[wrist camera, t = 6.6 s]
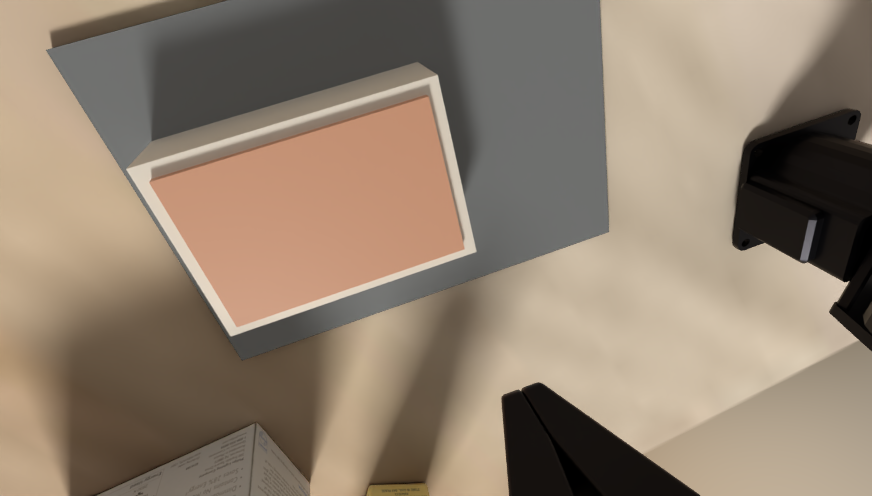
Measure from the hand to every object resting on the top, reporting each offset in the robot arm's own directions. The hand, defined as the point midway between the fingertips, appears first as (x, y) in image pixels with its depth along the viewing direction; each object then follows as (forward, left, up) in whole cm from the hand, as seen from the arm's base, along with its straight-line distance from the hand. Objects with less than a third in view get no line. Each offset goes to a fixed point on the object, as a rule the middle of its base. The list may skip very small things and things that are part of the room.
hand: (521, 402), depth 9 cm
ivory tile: (-2, -1, -11) cm, 11 cm away
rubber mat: (0, -1, -13) cm, 13 cm away
